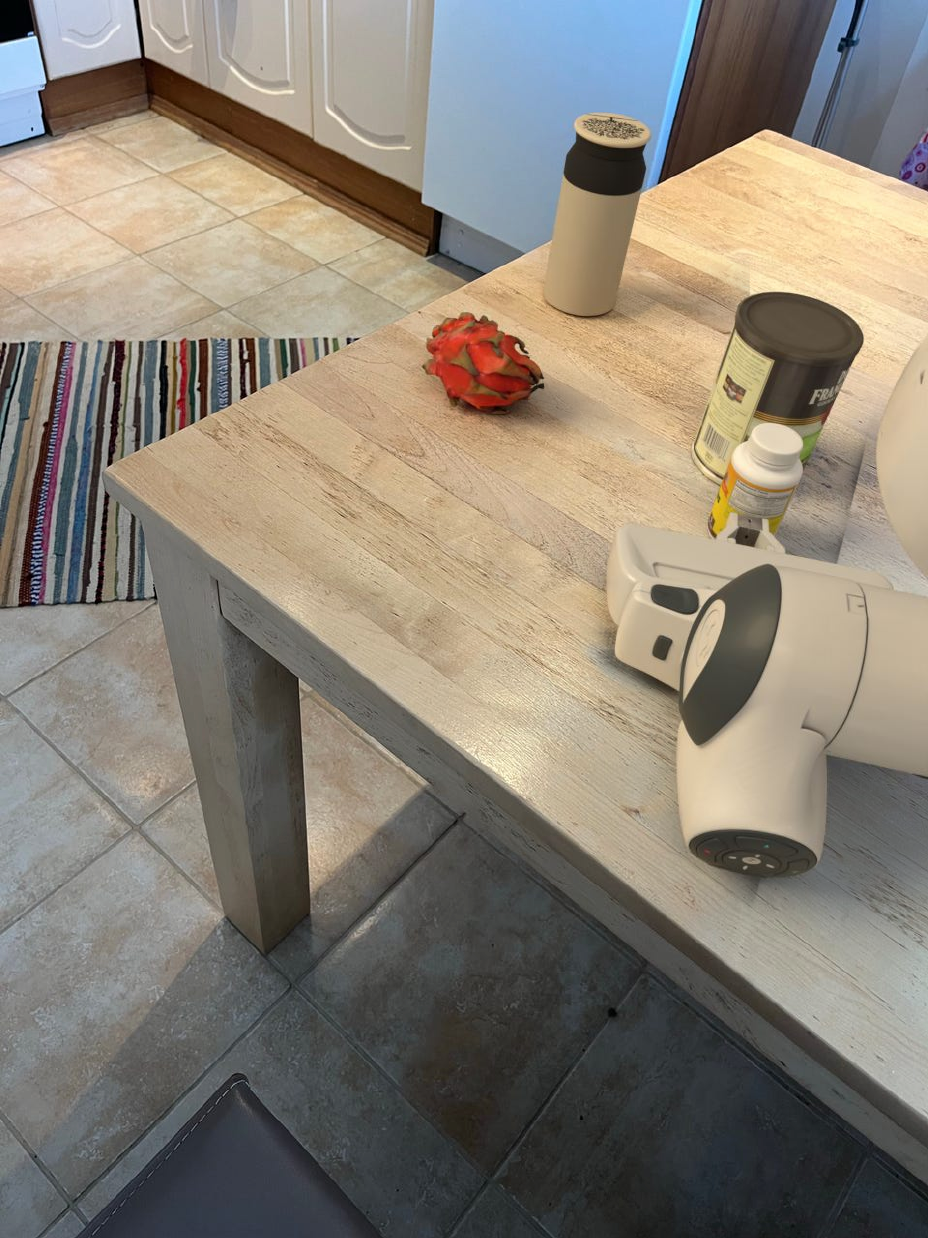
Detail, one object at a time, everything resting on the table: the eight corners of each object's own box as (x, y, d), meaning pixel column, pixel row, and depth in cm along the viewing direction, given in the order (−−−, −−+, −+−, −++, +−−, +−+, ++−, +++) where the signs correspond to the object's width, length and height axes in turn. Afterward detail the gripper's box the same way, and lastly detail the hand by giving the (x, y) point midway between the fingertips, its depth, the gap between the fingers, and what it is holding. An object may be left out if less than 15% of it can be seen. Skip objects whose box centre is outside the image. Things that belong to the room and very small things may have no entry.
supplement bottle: (724, 505, 82) (763, 406, 75) (781, 537, 80) (827, 438, 73) (692, 535, 79) (728, 435, 72) (750, 569, 77) (794, 469, 69)
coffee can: (818, 460, 88) (882, 323, 78) (773, 513, 82) (836, 373, 72) (720, 413, 92) (769, 276, 81) (670, 461, 86) (715, 320, 75)
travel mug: (610, 324, 101) (651, 149, 88) (537, 310, 102) (567, 134, 88) (617, 289, 106) (656, 119, 93) (548, 275, 107) (577, 105, 94)
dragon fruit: (418, 384, 93) (525, 440, 91) (392, 376, 85) (509, 437, 83) (456, 302, 91) (566, 358, 89) (433, 285, 83) (554, 347, 81)
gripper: (924, 655, 61) (898, 517, 70) (611, 590, 62) (626, 464, 72) (883, 714, 66) (864, 577, 75) (592, 652, 67) (609, 526, 76)
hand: (746, 521), depth 73 cm, fingers closed
